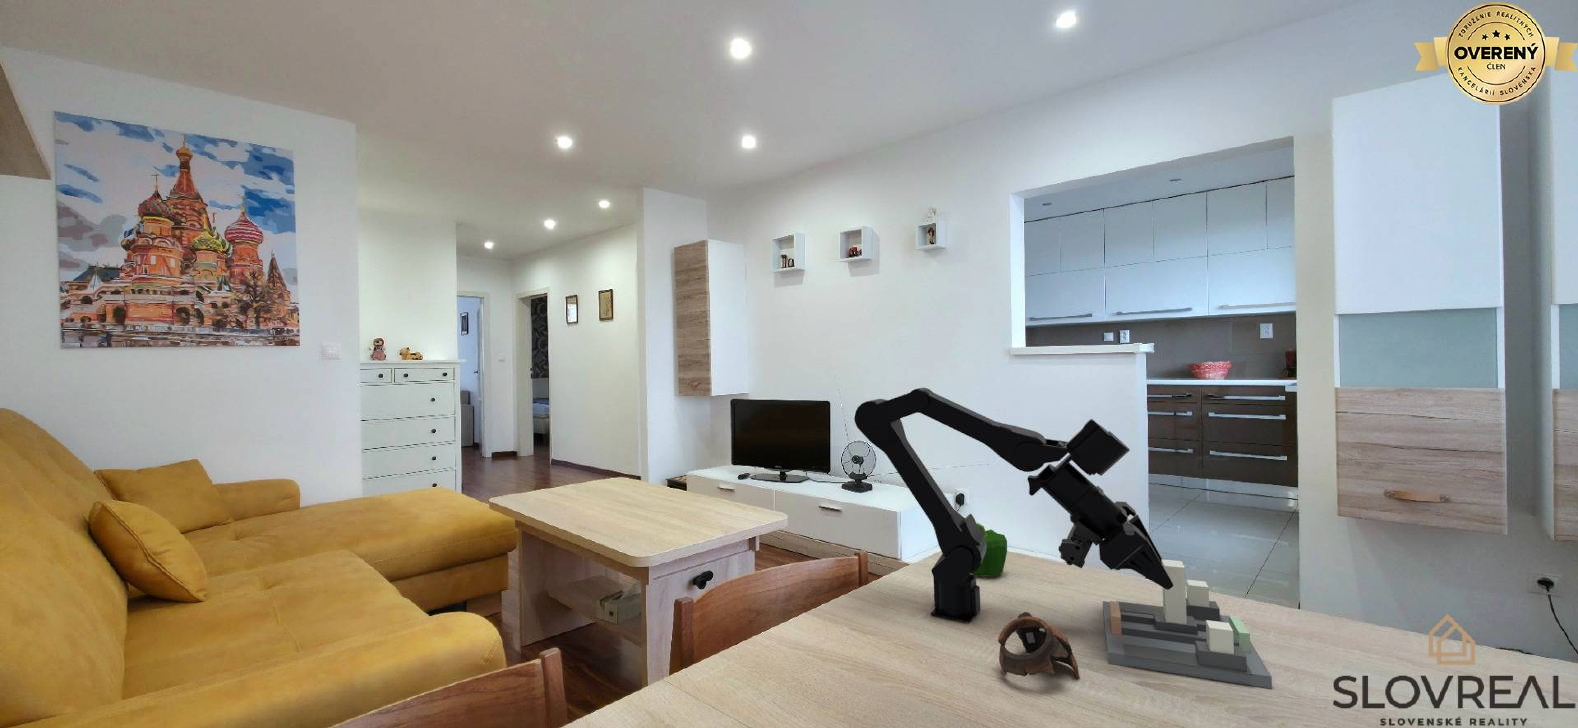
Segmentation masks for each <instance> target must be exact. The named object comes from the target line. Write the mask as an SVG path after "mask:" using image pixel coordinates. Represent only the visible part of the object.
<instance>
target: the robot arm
mask: <svg viewBox="0 0 1578 728" xmlns="http://www.w3.org/2000/svg"><path fill="white" fill-rule="evenodd" d="M854 414H855V415H854V417H853V419H854V423H855V426H856V428H857V429H858V430H859V431H860V432H861V433H862V434H863V435H864V437H865V438H866V439H867V440H868V441H869V442H870V443H871V444H873V445H874V446H875V447H876V448H878V449H879V450H880V451H882V452H883V453H884V454H885V456H886V457H887V458H888V460H889V461H890V463H891V465H892V466H893V467H894V469H895V470H896V471H897V473H898V475H899V476H900V478H901V479H902V481H903V482H904V484H905V486H906V487H907V488H908V490H909V491H910V493H911V494H912V496H913V498H914V499H915V500H916V502H917V504H918V506H919V507H920V508H921V510H922V511H923V513H924V514H925V515H926V517H927V518H928V520H929V522H930V523H931V525H932V527H933V530H934V534H935V537H936V540H937V544H938V547H939V548H940V551H941V553H942V554H941V555H940V556H939V558H938V559H937V561H936V562H935V564H934V565H933V567H932V568H931V572H930V573H931V574H932V577H933V599H934V607H933V609H932V610H931V612H930V616H932V617H935V618H941V619H944V620H945V619H946V620H950V621H955V622H960V623H966V624H970V623H971V622H972V621H973V620H974V618H975V617H976V616H977V615H978V614H979V613H980V612H981V589H980V588H981V587H980V586H979V585H977V576H975V575H972V574H971V573H973V572H975V571H976V570H977V569H978V568H979V566H980V565H981V563H982V560H983V558H984V556H985V554H986V549H987V544H986V541H985V539H984V536H985V534H986V533H985V532H984V531H982V530H981V529H980V528H979V527H978V525H977V523H978V522H977V521H976V520H975V518H974V516H973V514H972V513H969V514H968V515H966V516H965V517H964V516H963V515H961V513H959V512H957V510H956V509H955V508H954V507H953V505H952V504H951V503H950V501H949V499H948V498H947V497H946V496H945V493H944V492H943V491H942V490H941V488H940V487H939V485H938V484H937V482H936V481H935V479H934V478H933V476H932V475H931V473H930V472H929V470H928V468H926V466H925V464H924V463H923V461H922V460H921V458H920V457H919V455H918V454H917V452H916V451H915V450H914V448H913V446H912V445H911V444H910V442H909V440H908V439H907V435H906V431H905V429H904V424H903V422H902V419H903V418H906V417H908V416H911V415H914V414H921V415H924V416H926V417H927V418H930V419H932V420H935V421H936V422H938V423H940V424H942V425H943V426H947V427H949V428H951V429H953V430H954V431H957V432H959V433H961V434H963V435H965V436H967V437H969V438H972V439H973V440H976V441H978V442H979V443H982V444H983V445H985V446H987V447H988V448H989V449H990V450H992V451H993V452H994V453H995V454H996V455H997V456H998V457H1000V458H1001V459H1003V460H1004V461H1005V462H1007V463H1008V464H1009V465H1011V466H1012V467H1014V468H1015V469H1017V470H1019V471H1020V472H1021V471H1022V472H1024V473H1031V472H1034V471H1038V470H1039V469H1041V468H1043V467H1044V465H1045V464H1047V465H1046V466H1045V467H1044V468H1043V469H1042V470H1041V471H1040V472H1039V473H1037V475H1028V476H1027V479H1026V480H1027V482H1028V494H1029V495H1030V496H1034V495H1035V494H1036V493H1038V492H1039V491H1040V490H1041V489H1043V491H1045V493H1047V494H1048V495H1049V497H1051V498H1052V499H1053V500H1054V501H1055V502H1056V503H1057V504H1058V505H1059V506H1061V507H1062V508H1063V509H1064V510H1065V511H1066V512H1067V513H1068V514H1069V519H1070V520H1069V521H1070V522H1071V523H1073V526H1072V527H1071V528H1070V531H1069V532H1068V535H1067V537H1066V538H1062V540H1061V542H1060V545H1059V546H1058V552H1059V553H1060V559H1062V560H1063V561H1064V562H1065V563H1066V564H1067V565H1068V566H1072V565H1073V566H1076V567H1077V568H1080V569H1082V568H1084V565H1085V564H1086V558H1087V556H1088V554H1089V553H1090V550H1091V547H1092V546H1093V545H1095V546H1098V552H1099V553H1098V554H1099V560H1100V561H1101V562H1102V563H1103V564H1104V565H1105V566H1106V567H1107V568H1108V569H1109V570H1111V571H1112V570H1114V571H1121V570H1132V571H1134V572H1136V573H1137V574H1139V575H1141V576H1143V577H1145V578H1146V579H1149V581H1151V582H1153V583H1155V584H1157V586H1160V587H1162V589H1163V588H1165V589H1167V590H1169V589H1170V588H1172V587H1173V583H1172V581H1171V579H1170V577H1169V576H1168V574H1167V572H1166V570H1165V569H1164V567H1163V565H1162V559H1163V558H1162V556H1161V555H1160V553H1159V551H1158V549H1157V547H1156V545H1155V544H1154V542H1153V539H1152V538H1151V536H1150V534H1149V533H1148V531H1147V529H1146V527H1145V525H1144V524H1143V521H1142V519H1141V518H1140V516H1139V515H1138V514H1137V511H1136V509H1134V508H1133V507H1132V506H1131V505H1130V504H1129V503H1128V502H1126V501H1117V500H1116V501H1115V502H1114V501H1113V500H1112V499H1111V498H1109V497H1108V495H1106V494H1105V493H1104V490H1103V488H1101V487H1100V486H1099V485H1097V486H1096V485H1095V484H1094V483H1093V482H1092V481H1091V480H1090V479H1088V478H1087V477H1086V476H1085V475H1084V474H1083V473H1082V472H1080V471H1079V470H1078V469H1077V468H1076V467H1075V466H1074V465H1072V463H1070V462H1071V461H1072V462H1073V463H1074V464H1075V465H1076V466H1077V467H1078V468H1079V469H1080V470H1082V471H1083V472H1084V473H1085V474H1087V475H1088V476H1089V477H1090V476H1095V475H1096V474H1097V475H1099V476H1101V477H1102V476H1103V475H1104V474H1105V473H1107V471H1109V470H1110V469H1111V468H1113V466H1114V465H1115V464H1117V463H1118V462H1119V461H1120V460H1121V459H1123V457H1124V456H1125V455H1127V454H1128V452H1130V451H1131V449H1130V448H1129V447H1128V446H1127V445H1126V444H1125V443H1124V442H1123V441H1122V440H1121V439H1120V438H1118V437H1117V436H1116V435H1115V434H1114V433H1113V432H1111V431H1110V430H1107V429H1106V428H1104V427H1103V426H1102V425H1101V424H1099V423H1098V422H1097V421H1095V419H1094V418H1091V419H1089V420H1088V421H1087V422H1086V423H1085V424H1084V425H1083V427H1082V428H1081V429H1080V430H1079V431H1078V432H1076V434H1075V435H1074V436H1073V437H1071V438H1070V440H1069V441H1066V440H1065V441H1064V440H1060V439H1059V440H1058V439H1050V438H1045V437H1044V435H1043V434H1041V433H1039V432H1038V431H1035V430H1030V429H1027V428H1024V427H1020V426H1018V425H1012V424H1007V423H1002V422H999V421H995V420H993V419H991V418H989V417H986V416H985V415H983V414H981V413H979V412H976V411H974V410H972V409H969V408H968V407H965V406H963V405H961V404H958V403H956V402H954V401H952V400H950V399H948V398H945V397H944V396H941V395H940V394H937V393H935V392H933V391H932V390H931V389H930V388H927V387H919V388H914V389H913V390H911V391H910V392H907V393H903V395H899V396H897V397H893V398H891V399H886V398H885V399H884V398H877V399H871V400H868V401H867V400H866V401H864V402H862V403H861V404H860V405H858V406H857V408H856V410H855V413H854ZM1065 456H1066V457H1065ZM1063 458H1064V459H1063ZM1062 459H1063V460H1062ZM1059 461H1060V462H1059ZM1054 462H1055V463H1056V462H1059V463H1058V464H1056V466H1055V465H1053V464H1051V463H1054ZM1129 516H1132V517H1131V518H1130V519H1129V518H1128V517H1129Z"/></svg>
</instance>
